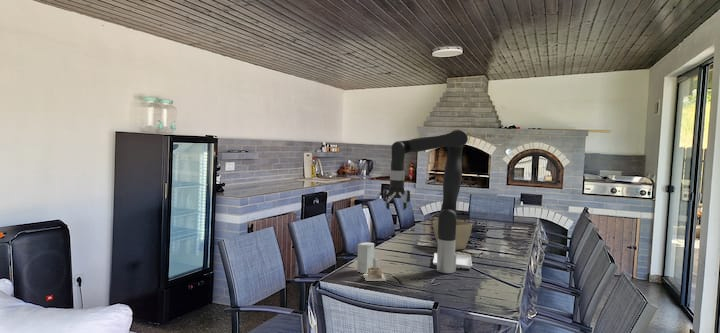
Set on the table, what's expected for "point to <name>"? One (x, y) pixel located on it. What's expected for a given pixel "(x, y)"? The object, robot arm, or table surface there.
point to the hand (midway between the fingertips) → (396, 209)
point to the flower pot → (457, 233)
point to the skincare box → (365, 257)
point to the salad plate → (458, 261)
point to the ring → (374, 273)
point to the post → (374, 269)
